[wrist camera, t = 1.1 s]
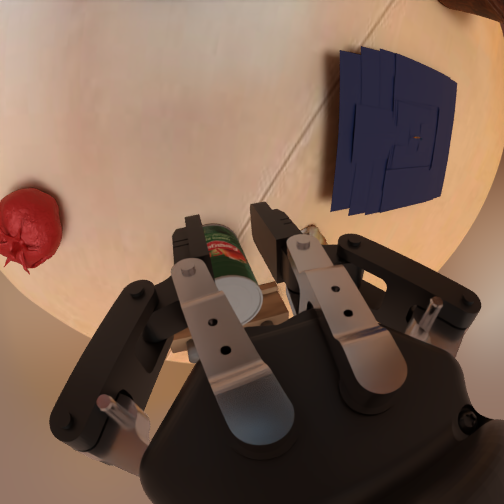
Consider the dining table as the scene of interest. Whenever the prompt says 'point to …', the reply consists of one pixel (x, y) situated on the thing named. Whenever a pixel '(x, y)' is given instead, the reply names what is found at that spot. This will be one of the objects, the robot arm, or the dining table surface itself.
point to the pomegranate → (29, 227)
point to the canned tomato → (233, 272)
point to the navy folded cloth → (391, 132)
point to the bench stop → (268, 314)
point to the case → (479, 7)
